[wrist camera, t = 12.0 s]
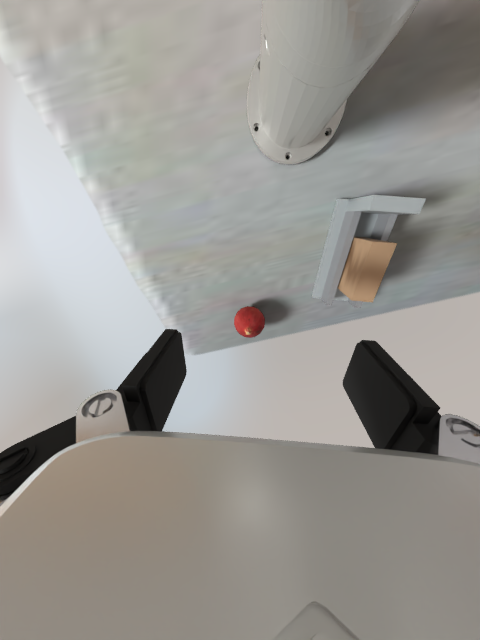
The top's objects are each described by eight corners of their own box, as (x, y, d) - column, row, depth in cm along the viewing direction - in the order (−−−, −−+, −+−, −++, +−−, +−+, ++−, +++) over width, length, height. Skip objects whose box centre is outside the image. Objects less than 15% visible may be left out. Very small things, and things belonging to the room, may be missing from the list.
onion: (269, 308, 39) (272, 327, 32) (255, 329, 42) (256, 352, 35) (243, 295, 39) (240, 313, 32) (231, 318, 41) (226, 339, 34)
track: (336, 199, 30) (361, 193, 23) (395, 203, 30) (439, 199, 23) (311, 295, 38) (324, 314, 31) (358, 300, 37) (382, 319, 30)
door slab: (346, 236, 31) (372, 241, 24) (365, 237, 31) (397, 243, 24) (332, 283, 35) (351, 300, 28) (349, 285, 35) (372, 302, 28)
